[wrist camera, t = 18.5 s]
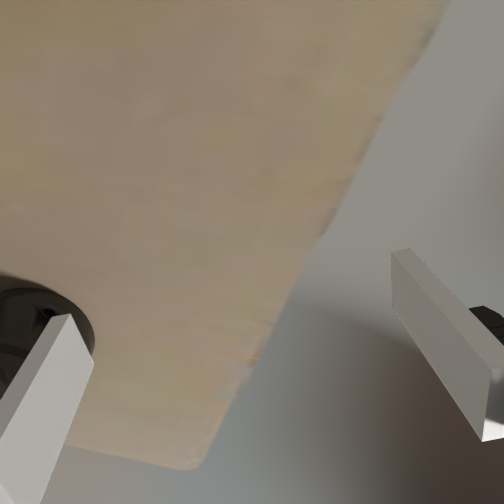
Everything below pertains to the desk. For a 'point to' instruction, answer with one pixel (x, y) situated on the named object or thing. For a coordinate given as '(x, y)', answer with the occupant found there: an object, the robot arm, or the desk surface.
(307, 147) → the desk surface
